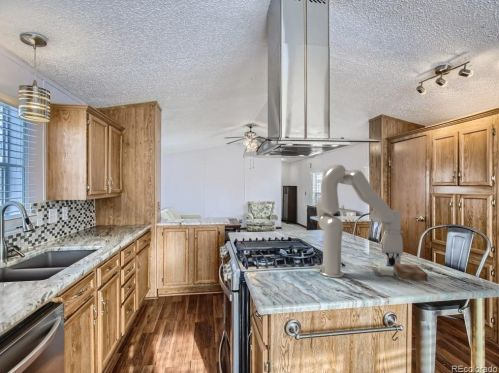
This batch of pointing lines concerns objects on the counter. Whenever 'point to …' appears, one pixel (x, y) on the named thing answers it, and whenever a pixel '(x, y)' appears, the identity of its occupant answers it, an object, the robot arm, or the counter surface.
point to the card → (385, 270)
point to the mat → (383, 275)
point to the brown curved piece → (410, 272)
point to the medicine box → (395, 260)
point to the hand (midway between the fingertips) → (391, 264)
